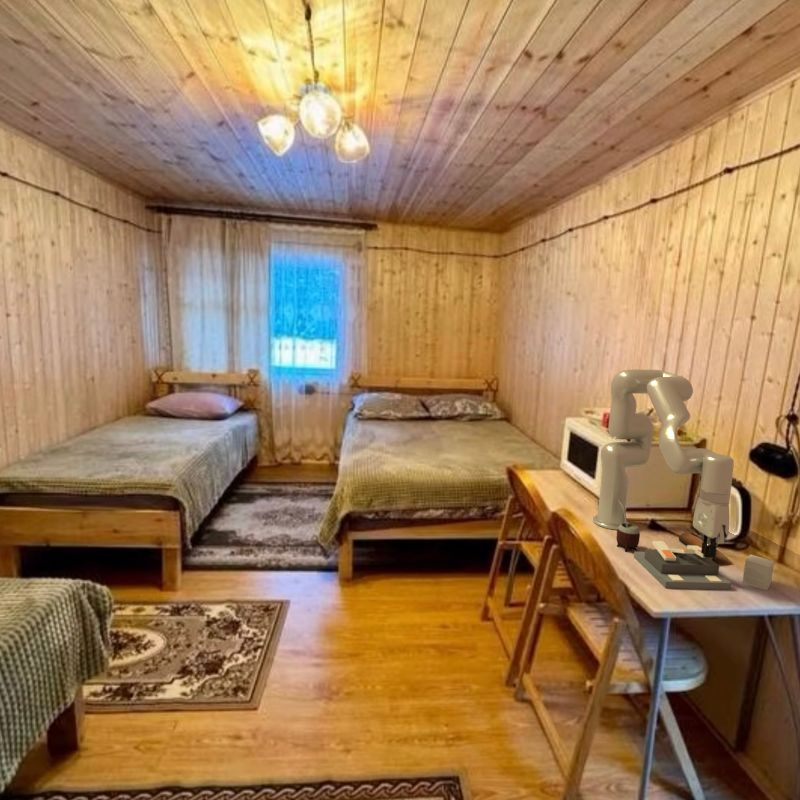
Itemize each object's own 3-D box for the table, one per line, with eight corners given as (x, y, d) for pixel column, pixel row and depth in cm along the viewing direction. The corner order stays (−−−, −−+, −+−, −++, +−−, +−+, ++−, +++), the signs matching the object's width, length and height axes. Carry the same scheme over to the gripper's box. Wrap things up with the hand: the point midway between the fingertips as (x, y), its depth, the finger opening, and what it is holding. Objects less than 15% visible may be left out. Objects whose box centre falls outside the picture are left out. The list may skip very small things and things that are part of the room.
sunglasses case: (737, 565, 158) (729, 548, 157) (717, 575, 158) (709, 558, 157) (701, 541, 176) (693, 525, 175) (683, 550, 176) (675, 535, 175)
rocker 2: (686, 551, 155) (686, 544, 155) (696, 551, 155) (697, 545, 155) (702, 560, 147) (702, 553, 147) (713, 561, 147) (713, 554, 147)
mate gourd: (637, 555, 163) (642, 511, 161) (611, 549, 167) (615, 506, 165) (639, 546, 170) (643, 504, 168) (614, 541, 174) (618, 500, 171)
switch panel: (633, 557, 162) (635, 542, 161) (691, 558, 162) (693, 544, 161) (665, 588, 143) (667, 571, 142) (730, 589, 143) (732, 573, 142)
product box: (747, 576, 151) (750, 553, 150) (771, 584, 147) (775, 561, 146) (741, 582, 147) (745, 559, 146) (766, 591, 143) (770, 567, 142)
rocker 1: (651, 546, 155) (652, 540, 155) (661, 546, 155) (663, 540, 155) (664, 563, 148) (665, 557, 147) (674, 563, 148) (676, 557, 147)
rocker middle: (669, 555, 155) (669, 547, 155) (680, 555, 155) (679, 548, 155) (684, 556, 147) (684, 549, 147) (695, 557, 147) (694, 549, 148)
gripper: (686, 488, 153) (681, 545, 155) (718, 505, 138) (711, 567, 140) (711, 489, 153) (704, 546, 155) (745, 505, 138) (737, 568, 140)
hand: (708, 556), depth 147 cm, fingers closed
